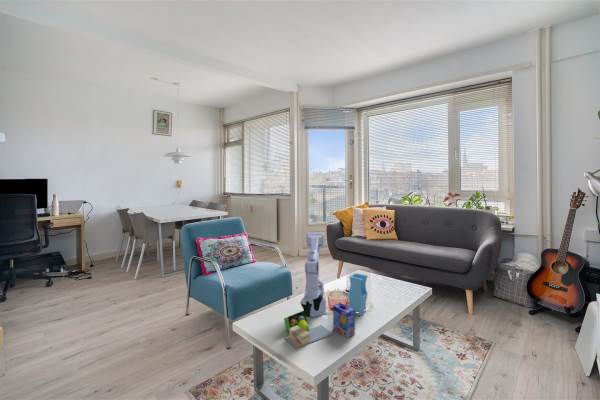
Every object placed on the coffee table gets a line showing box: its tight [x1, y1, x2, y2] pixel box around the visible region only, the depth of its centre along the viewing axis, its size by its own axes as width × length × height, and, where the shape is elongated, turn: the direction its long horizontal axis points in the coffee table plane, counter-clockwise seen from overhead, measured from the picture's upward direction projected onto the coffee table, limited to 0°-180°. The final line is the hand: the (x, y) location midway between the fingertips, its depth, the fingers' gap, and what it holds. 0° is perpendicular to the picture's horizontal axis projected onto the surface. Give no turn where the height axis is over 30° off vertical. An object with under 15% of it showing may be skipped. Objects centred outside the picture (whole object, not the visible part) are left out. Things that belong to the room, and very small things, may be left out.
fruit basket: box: [283, 310, 310, 332], centre depth 142 cm, size 11×9×11 cm
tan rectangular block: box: [288, 325, 310, 346], centre depth 134 cm, size 9×4×4 cm, turn 43°
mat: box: [284, 324, 334, 350], centre depth 137 cm, size 21×10×1 cm, turn 122°
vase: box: [347, 272, 368, 316], centre depth 162 cm, size 8×8×20 cm
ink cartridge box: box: [332, 302, 356, 338], centre depth 141 cm, size 10×6×14 cm, turn 38°
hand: (312, 313), depth 140 cm, fingers open, 7 cm apart
